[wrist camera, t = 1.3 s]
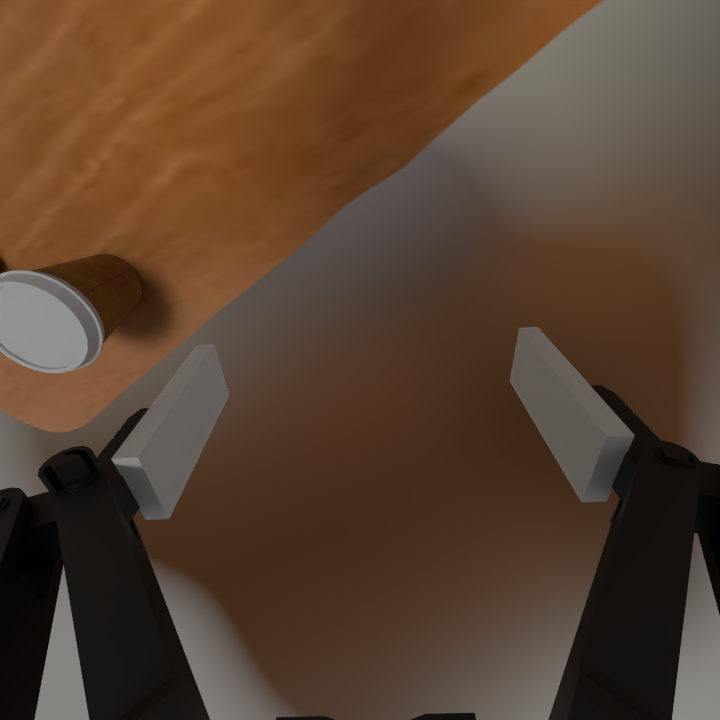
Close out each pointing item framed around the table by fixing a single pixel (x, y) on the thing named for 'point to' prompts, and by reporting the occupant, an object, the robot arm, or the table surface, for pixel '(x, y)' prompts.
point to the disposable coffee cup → (64, 311)
